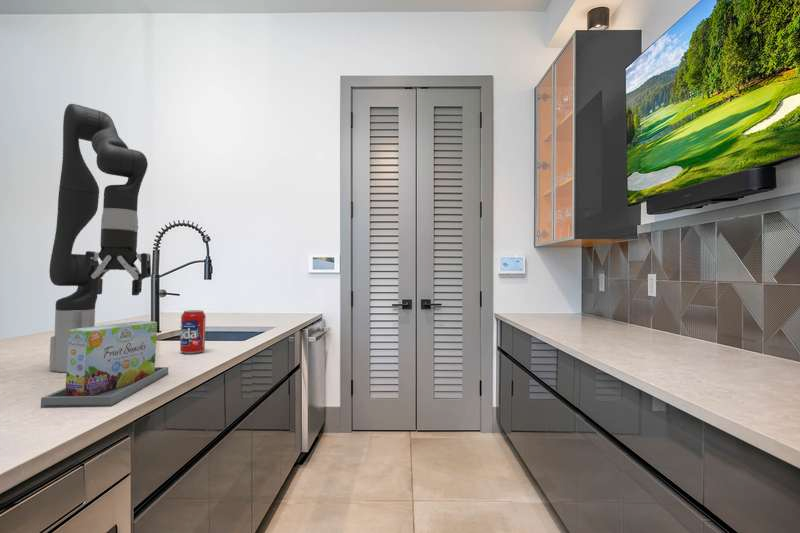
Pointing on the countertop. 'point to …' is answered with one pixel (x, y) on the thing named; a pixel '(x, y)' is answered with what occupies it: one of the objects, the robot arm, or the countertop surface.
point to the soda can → (192, 332)
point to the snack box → (109, 357)
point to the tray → (101, 394)
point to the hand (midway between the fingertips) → (116, 294)
